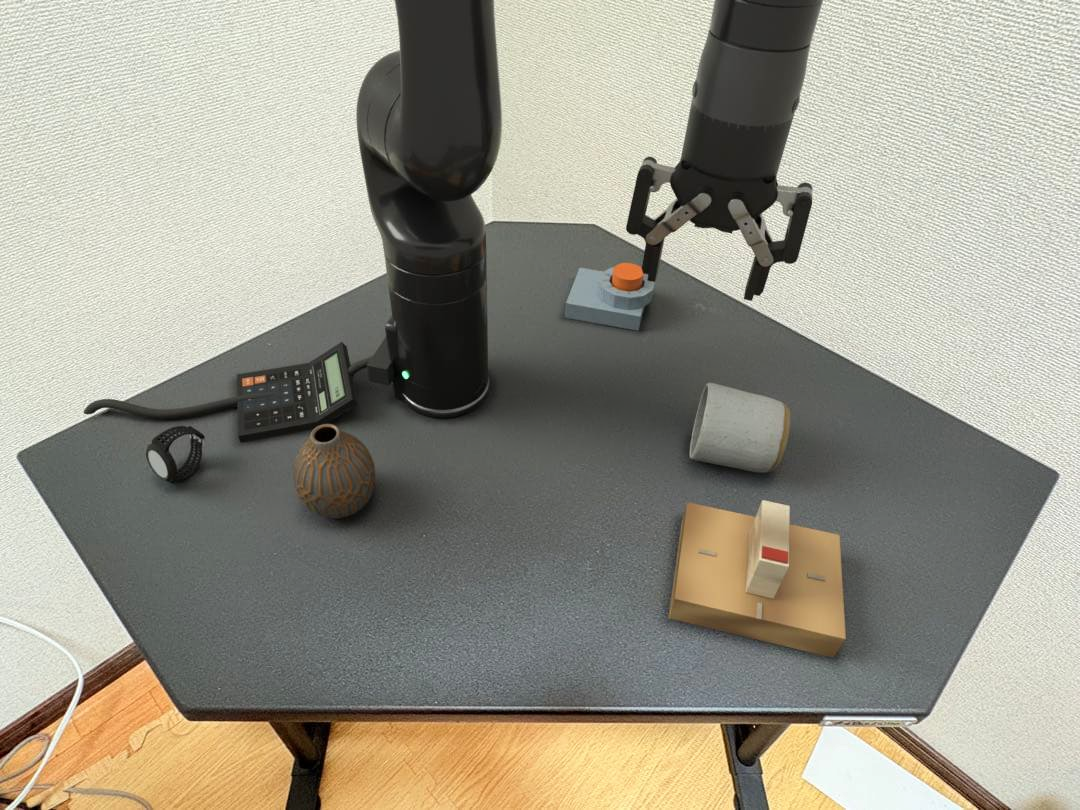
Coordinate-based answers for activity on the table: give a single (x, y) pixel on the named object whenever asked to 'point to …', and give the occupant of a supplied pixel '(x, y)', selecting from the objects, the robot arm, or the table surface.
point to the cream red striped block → (768, 549)
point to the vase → (333, 473)
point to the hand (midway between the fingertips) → (699, 286)
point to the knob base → (723, 604)
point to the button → (627, 277)
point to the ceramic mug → (739, 429)
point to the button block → (607, 300)
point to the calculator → (296, 396)
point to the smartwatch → (164, 460)
